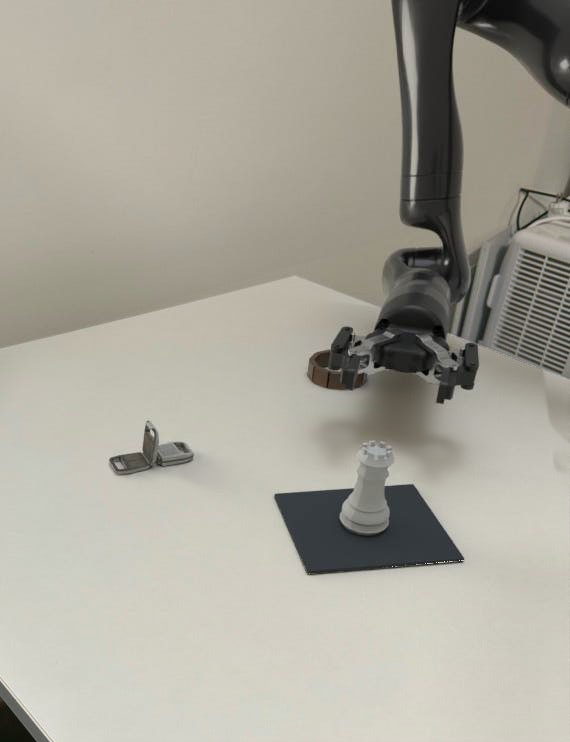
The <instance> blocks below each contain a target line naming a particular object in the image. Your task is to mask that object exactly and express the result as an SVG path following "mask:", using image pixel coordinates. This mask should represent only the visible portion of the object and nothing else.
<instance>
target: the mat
mask: <svg viewBox="0 0 570 742" xmlns="http://www.w3.org/2000/svg"><path fill="white" fill-rule="evenodd" d="M354 488H355V487H350V488H338V489H321V490H308V491H293V492H278V493H274V496H273V497H274V500H275V502H276V504H277V507H278V509H279V511H280V514H281V516H282V518H283V520H284V522H285V525H286V528H287V531H288V532H289V535H290V537H291V536H292V537H291V539H292V541H293V544H294V543H295V544H294V546H295V548H296V550H298V551H297V553H298V555H299V557H300V560H301V559H302V560H301V562H302V565H303V567H304V566H305V567H304V569H305V568H306V569H305V571H306V570H307V571H306V574H307V573H310V574H309V575H312V574H311V573H320V574H324V573H323V572H326V573H325V574H328V573H327V572H332V573H339V572H338V571H344V572H354V571H355V570H357V571H366V569H367V570H368V569H369V570H379V569H378V568H381V569H386V568H385V567H392V566H393V567H394V568H396V567H395V566H405V565H406V567H408V566H407V565H416V564H425V563H426V564H427V563H436V562H437V563H438V562H444V561H445V562H447V561H448V562H449V561H459V560H460V561H461V560H464V561H465V557H464V556H463V554H462V552H461V551H460V550H459V548H458V547H457V546H456V544H455V542H454V541H453V539H452V538H451V537H450V536H449V534H448V532H447V531H446V529H445V528H444V526H443V525H442V523H441V522H440V521H439V519H438V517H437V516H436V515H435V513H434V512H433V511H432V509H431V508H430V506H429V505H428V503H427V502H426V501H425V499H424V497H423V496H422V494H421V493H420V492H419V490H418V489H417V487H416V485H415V484H414V483H409V484H408V483H407V484H394V485H385V490H384V496H385V499H386V501H387V506H388V507H389V511H390V514H389V518H388V519H389V525H388V526H387V527H386V528H385V530H383V531H382V532H380V533H378V534H375V535H367V536H366V535H359V534H356V533H353V532H351V531H349V530H348V529H347V528H345V526H344V525H343V523H342V522H341V520H340V513H341V512H342V505H343V503H344V502H345V501H346V500H347V499H348V498H349V495H350V494H352V492H353V490H354ZM383 567H384V568H383ZM375 568H377V569H375ZM362 569H363V570H362ZM352 570H353V571H352ZM355 572H356V571H355Z"/></svg>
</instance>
